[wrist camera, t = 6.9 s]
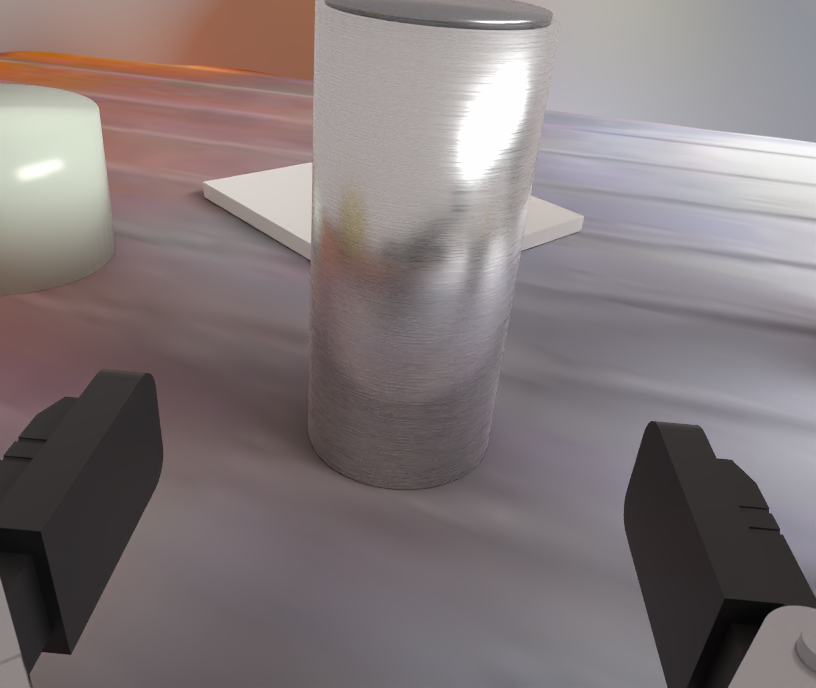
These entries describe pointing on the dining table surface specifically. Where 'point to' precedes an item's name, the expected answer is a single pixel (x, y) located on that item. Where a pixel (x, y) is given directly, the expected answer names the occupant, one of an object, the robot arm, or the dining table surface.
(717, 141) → the dining table surface
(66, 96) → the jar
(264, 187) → the tile
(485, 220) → the can
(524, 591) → the dining table surface
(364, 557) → the dining table surface
